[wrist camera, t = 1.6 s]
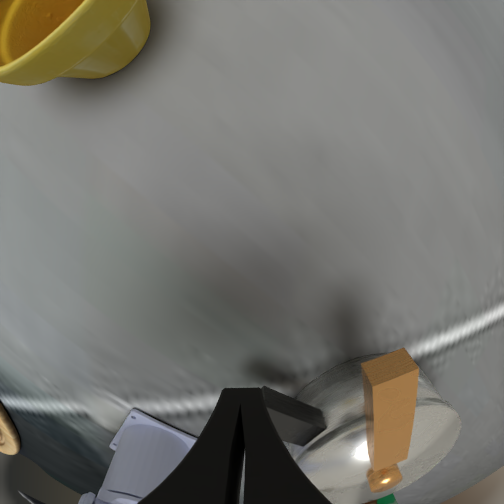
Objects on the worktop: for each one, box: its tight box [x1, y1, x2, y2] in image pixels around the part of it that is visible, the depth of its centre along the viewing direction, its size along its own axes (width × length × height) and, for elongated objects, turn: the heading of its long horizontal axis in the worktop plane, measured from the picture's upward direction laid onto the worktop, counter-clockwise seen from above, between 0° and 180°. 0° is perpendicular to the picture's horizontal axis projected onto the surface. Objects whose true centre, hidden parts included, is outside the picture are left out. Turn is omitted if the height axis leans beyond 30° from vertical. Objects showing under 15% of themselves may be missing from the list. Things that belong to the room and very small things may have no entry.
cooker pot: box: [261, 354, 442, 460], centre depth 20 cm, size 22×14×6 cm, turn 56°
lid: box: [295, 348, 461, 504], centre depth 15 cm, size 20×15×3 cm
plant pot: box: [0, 0, 151, 86], centre depth 10 cm, size 10×10×10 cm
